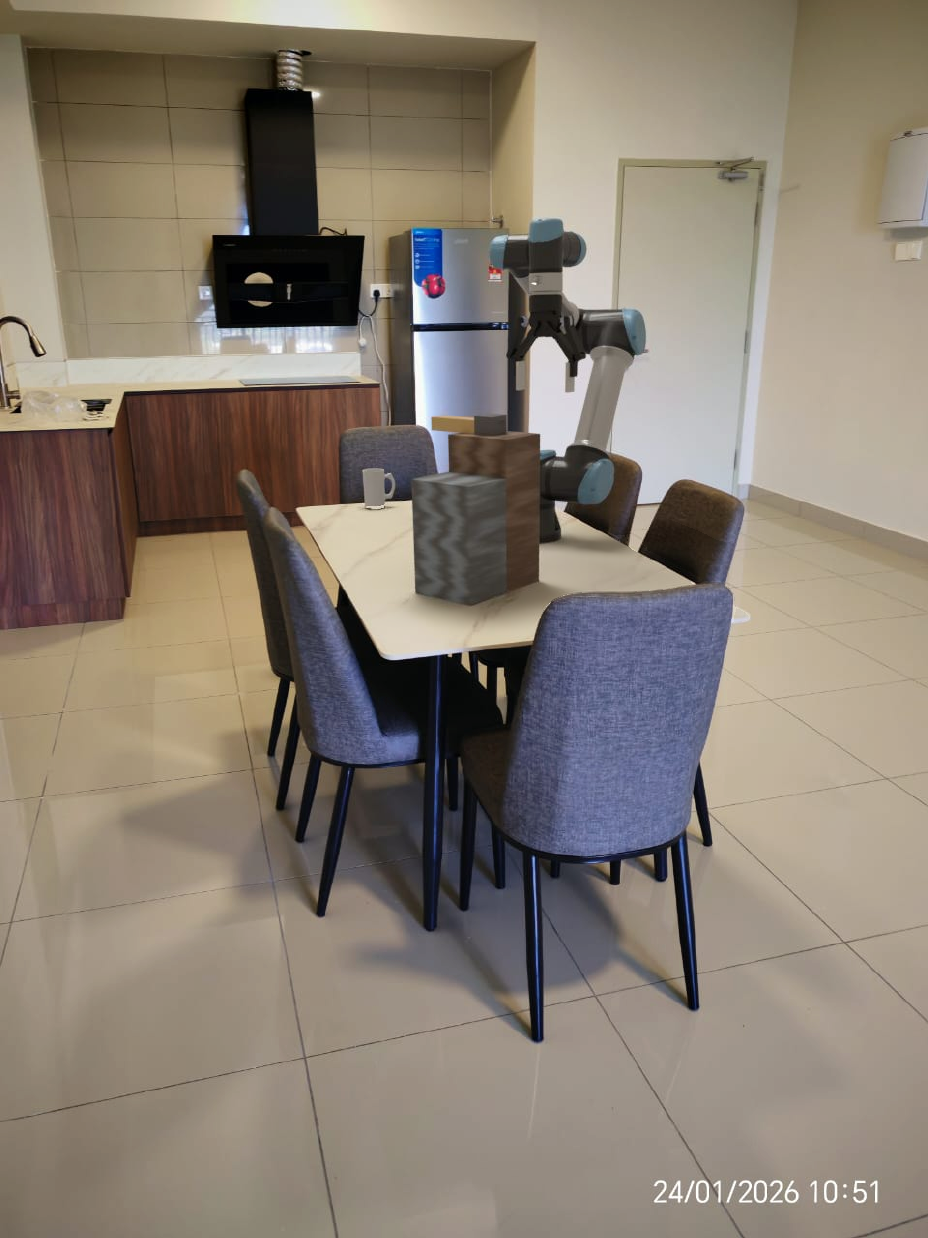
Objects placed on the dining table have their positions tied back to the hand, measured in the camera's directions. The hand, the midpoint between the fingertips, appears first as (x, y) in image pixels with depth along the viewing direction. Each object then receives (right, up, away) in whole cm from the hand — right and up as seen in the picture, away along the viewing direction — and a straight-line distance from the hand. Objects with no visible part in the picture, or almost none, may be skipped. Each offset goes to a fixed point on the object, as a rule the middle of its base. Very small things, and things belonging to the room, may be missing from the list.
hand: (544, 391), depth 214 cm
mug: (-45, -18, +79) cm, 93 cm away
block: (-18, -11, -9) cm, 23 cm away
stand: (-16, -45, -7) cm, 49 cm away
